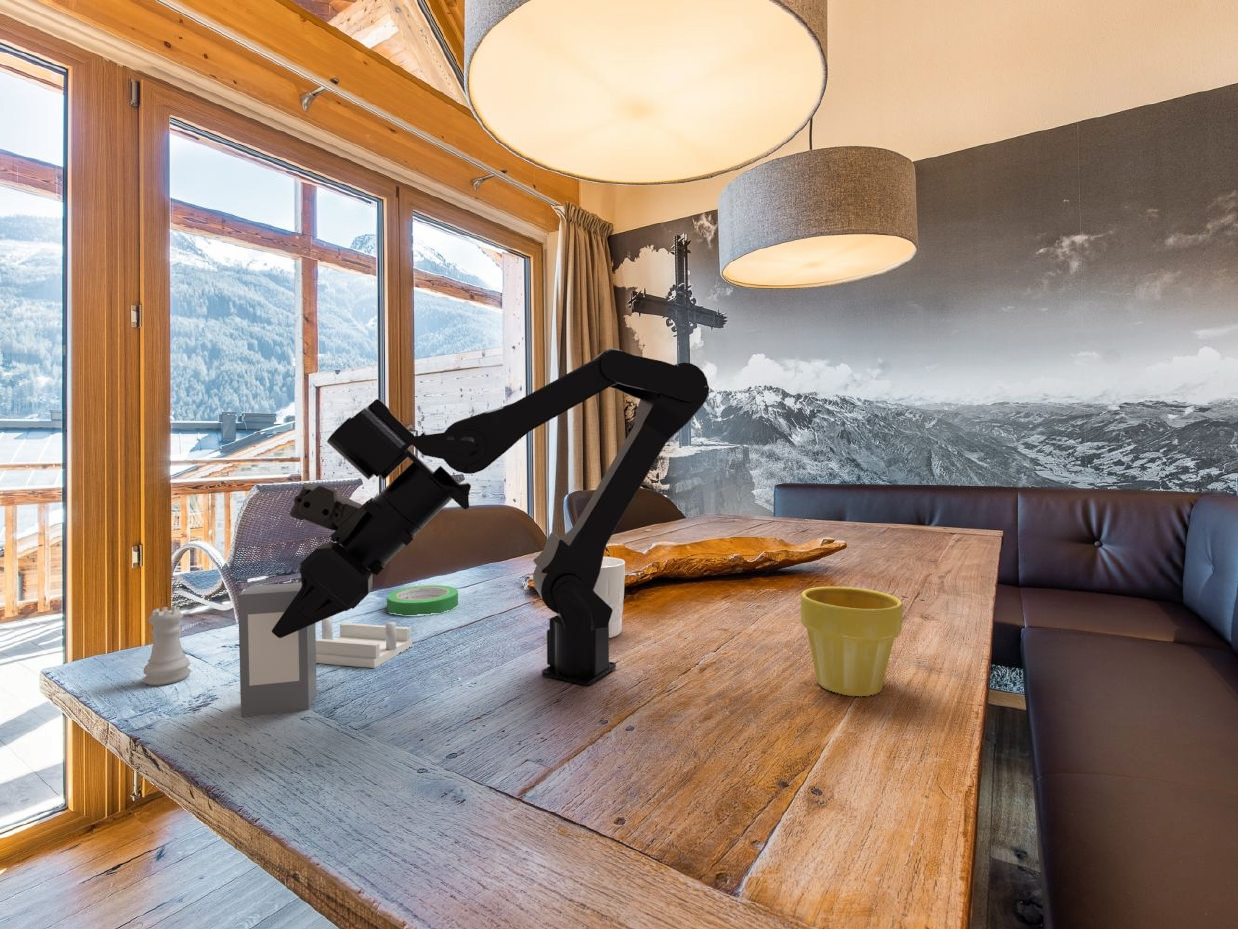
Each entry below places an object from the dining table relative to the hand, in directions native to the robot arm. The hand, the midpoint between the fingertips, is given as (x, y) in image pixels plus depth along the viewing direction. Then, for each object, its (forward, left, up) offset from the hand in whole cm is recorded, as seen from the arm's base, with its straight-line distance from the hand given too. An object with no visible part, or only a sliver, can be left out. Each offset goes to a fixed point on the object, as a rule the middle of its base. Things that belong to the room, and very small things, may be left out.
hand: (287, 621), depth 62 cm
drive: (+1, +1, -8) cm, 9 cm away
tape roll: (+17, -33, -9) cm, 38 cm away
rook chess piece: (+19, +3, -9) cm, 21 cm away
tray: (+7, -13, -8) cm, 17 cm away
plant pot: (-49, -32, -9) cm, 60 cm away
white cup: (-15, -35, -9) cm, 40 cm away
